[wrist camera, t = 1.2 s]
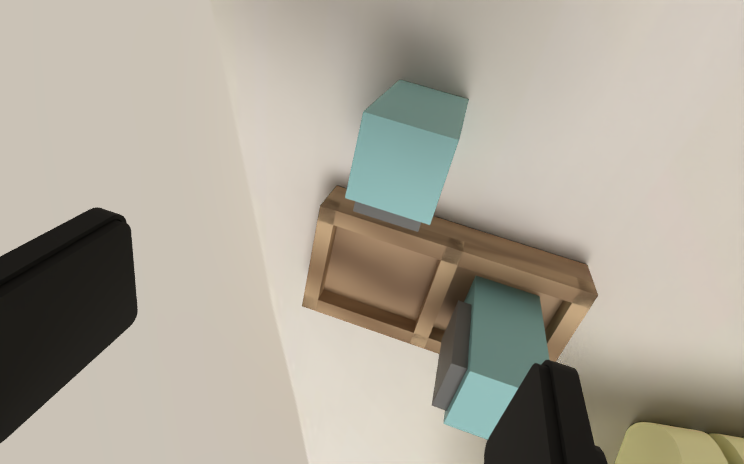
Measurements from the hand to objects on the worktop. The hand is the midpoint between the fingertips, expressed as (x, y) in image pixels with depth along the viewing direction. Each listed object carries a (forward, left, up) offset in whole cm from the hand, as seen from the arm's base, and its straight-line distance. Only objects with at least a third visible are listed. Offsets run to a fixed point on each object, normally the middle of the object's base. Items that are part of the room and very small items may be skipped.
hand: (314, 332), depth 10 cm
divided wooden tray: (+9, +4, -18) cm, 21 cm away
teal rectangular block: (0, 0, -18) cm, 18 cm away
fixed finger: (+9, +8, -16) cm, 20 cm away
